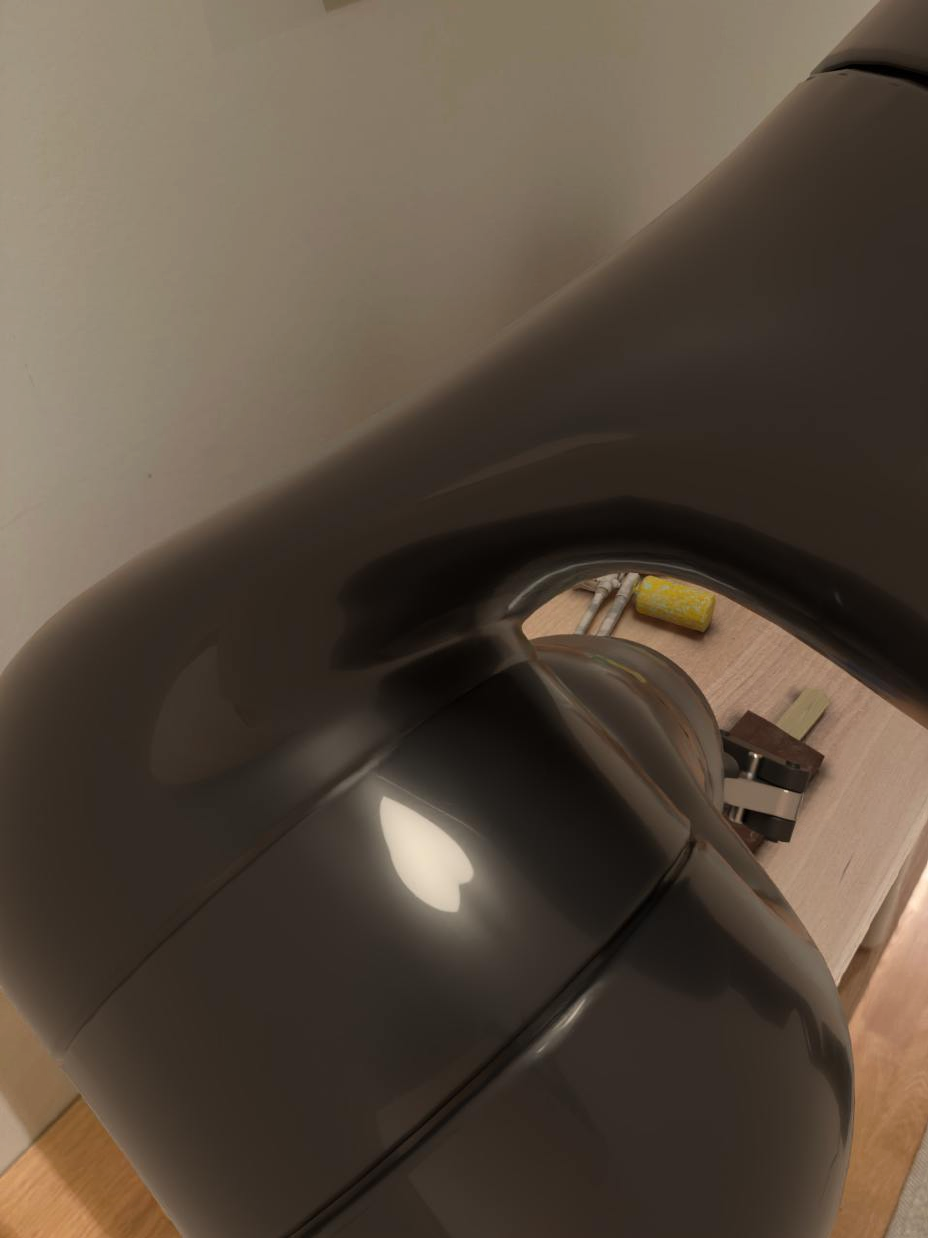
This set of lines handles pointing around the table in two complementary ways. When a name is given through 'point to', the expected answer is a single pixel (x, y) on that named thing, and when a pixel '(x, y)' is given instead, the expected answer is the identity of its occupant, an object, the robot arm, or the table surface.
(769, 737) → the ice cream bar
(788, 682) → the table surface
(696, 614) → the flamethrower
